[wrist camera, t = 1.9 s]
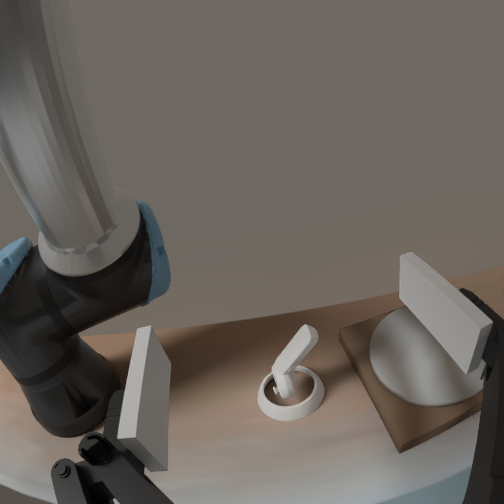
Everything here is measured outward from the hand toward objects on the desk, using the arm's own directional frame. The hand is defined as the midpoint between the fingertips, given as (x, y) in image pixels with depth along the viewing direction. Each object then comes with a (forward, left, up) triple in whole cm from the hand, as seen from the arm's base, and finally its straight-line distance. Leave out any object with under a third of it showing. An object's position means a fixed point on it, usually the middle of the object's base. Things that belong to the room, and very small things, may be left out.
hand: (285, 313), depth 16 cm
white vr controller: (0, +11, -20) cm, 23 cm away
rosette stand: (+17, +8, -20) cm, 27 cm away
